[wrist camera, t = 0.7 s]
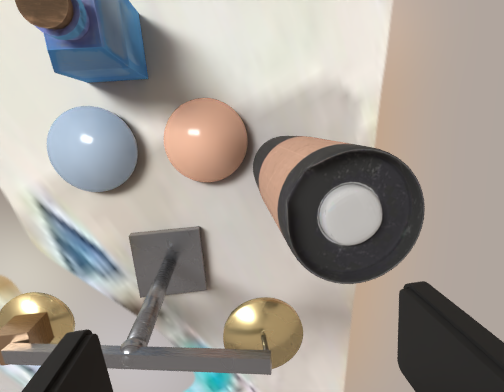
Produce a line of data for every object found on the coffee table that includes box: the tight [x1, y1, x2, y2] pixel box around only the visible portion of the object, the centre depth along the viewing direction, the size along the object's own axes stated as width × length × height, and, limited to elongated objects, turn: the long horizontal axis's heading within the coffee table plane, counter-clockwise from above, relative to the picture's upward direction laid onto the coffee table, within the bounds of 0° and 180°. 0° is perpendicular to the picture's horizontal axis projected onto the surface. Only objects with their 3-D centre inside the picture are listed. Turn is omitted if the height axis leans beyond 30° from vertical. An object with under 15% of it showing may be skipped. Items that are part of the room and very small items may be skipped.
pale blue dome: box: [47, 106, 138, 192], centre depth 31 cm, size 9×9×1 cm
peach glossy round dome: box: [164, 98, 247, 182], centre depth 32 cm, size 9×9×1 cm
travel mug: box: [253, 136, 424, 284], centre depth 25 cm, size 8×8×20 cm
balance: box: [0, 226, 303, 375], centre depth 27 cm, size 8×25×18 cm, turn 94°
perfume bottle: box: [15, 0, 148, 83], centre depth 24 cm, size 6×6×12 cm
